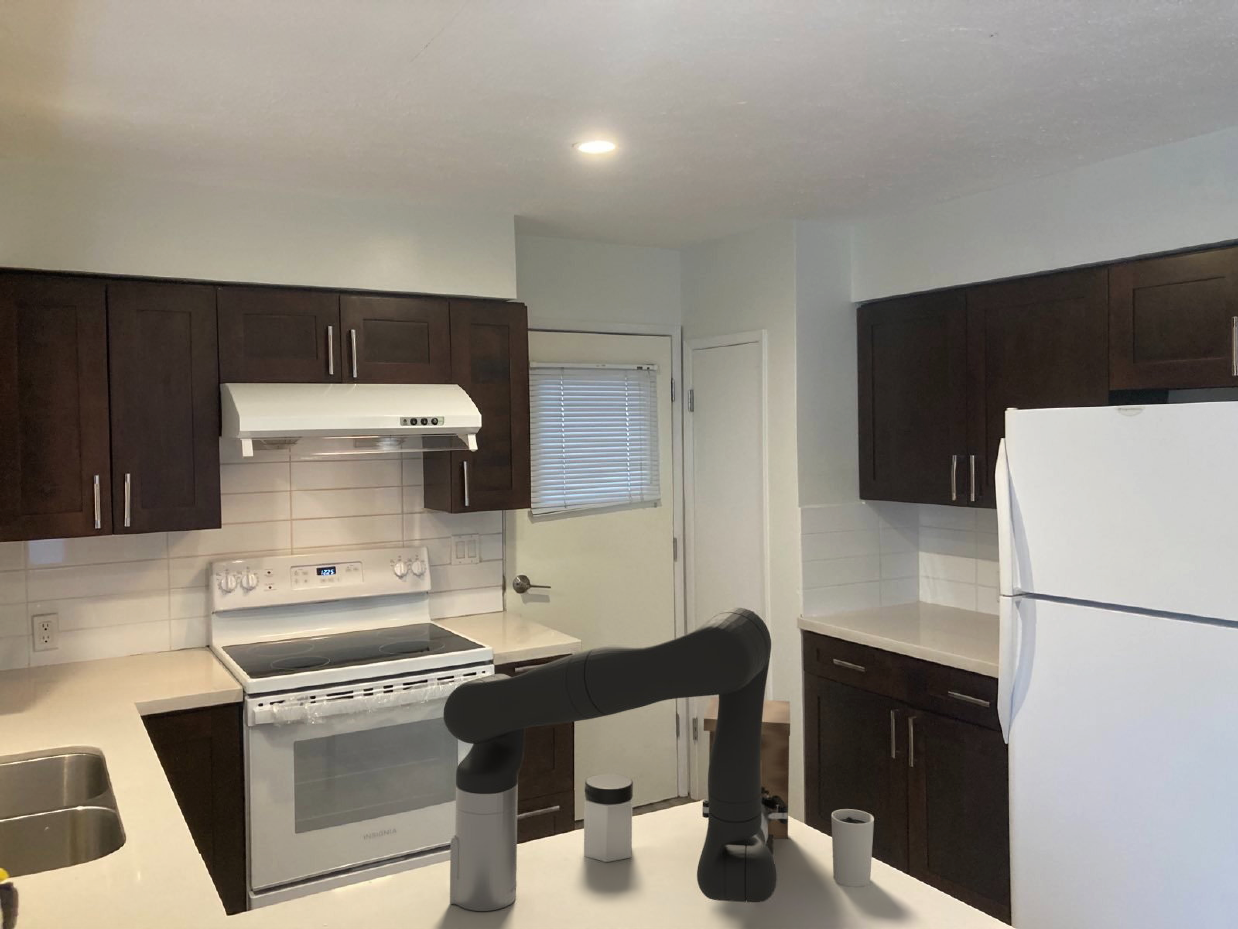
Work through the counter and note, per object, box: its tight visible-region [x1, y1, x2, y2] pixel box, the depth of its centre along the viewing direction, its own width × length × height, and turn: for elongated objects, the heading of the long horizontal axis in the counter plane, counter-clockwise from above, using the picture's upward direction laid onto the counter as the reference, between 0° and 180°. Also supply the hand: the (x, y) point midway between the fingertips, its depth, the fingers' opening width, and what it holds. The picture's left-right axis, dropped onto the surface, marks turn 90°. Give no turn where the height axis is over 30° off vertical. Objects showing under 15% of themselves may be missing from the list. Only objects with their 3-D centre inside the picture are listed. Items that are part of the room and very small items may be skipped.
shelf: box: [703, 696, 791, 857], centre depth 169 cm, size 14×16×24 cm
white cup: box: [831, 808, 875, 888], centre depth 157 cm, size 7×7×10 cm
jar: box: [583, 773, 634, 863], centre depth 166 cm, size 9×8×12 cm
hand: (747, 792), depth 165 cm, fingers closed on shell, 4 cm apart
